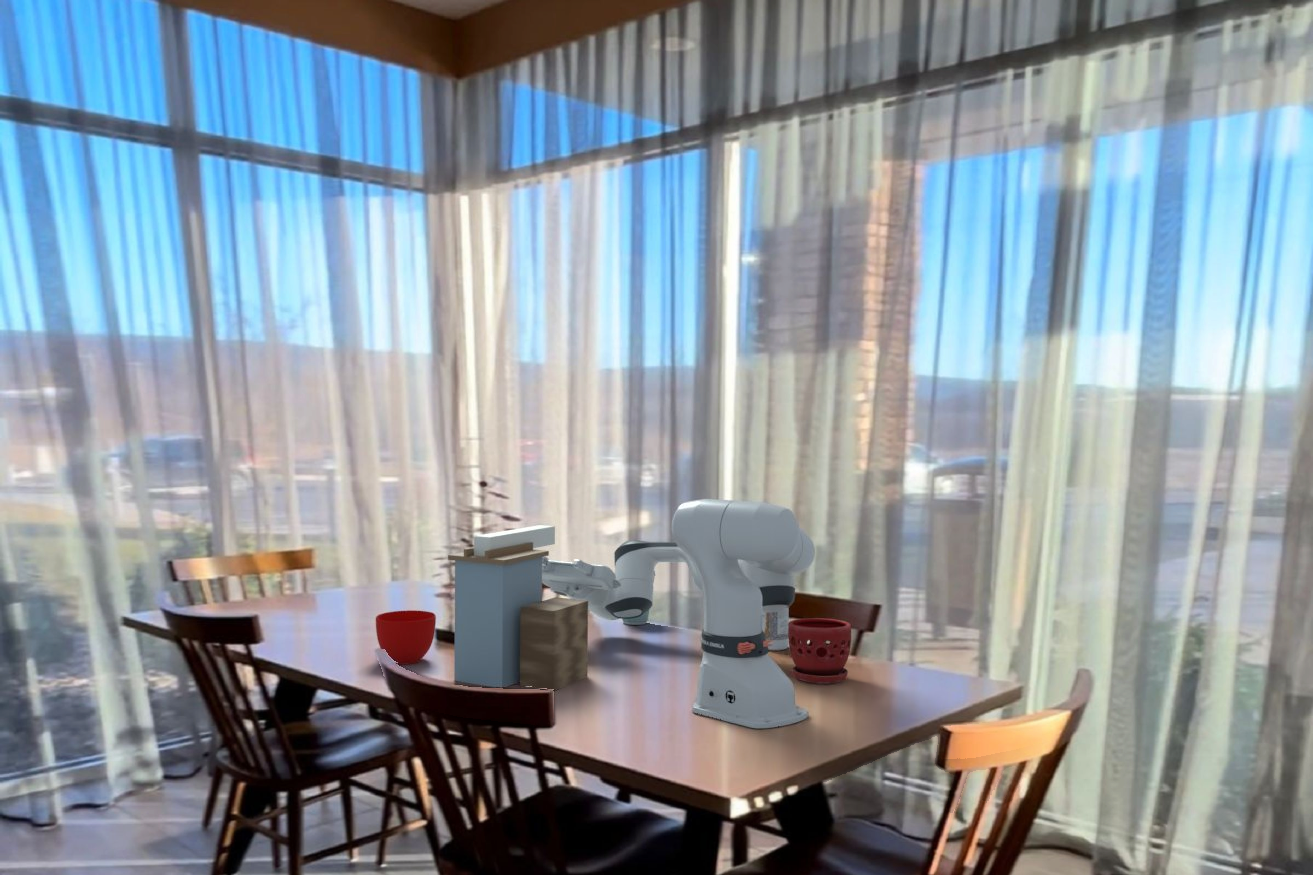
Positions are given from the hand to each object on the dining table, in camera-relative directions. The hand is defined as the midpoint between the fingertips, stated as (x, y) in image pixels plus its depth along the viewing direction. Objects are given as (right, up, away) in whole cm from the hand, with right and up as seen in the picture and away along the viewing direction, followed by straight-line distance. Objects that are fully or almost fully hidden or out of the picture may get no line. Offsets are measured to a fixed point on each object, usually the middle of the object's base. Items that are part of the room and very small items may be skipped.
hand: (558, 560), depth 232 cm
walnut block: (+1, -22, -22) cm, 32 cm away
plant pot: (+56, -23, -18) cm, 64 cm away
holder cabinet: (-11, -22, -19) cm, 31 cm away
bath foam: (+50, -22, +10) cm, 56 cm away
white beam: (-8, +4, -15) cm, 17 cm away
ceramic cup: (-34, -22, -5) cm, 41 cm away
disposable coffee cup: (+17, -21, +37) cm, 46 cm away
